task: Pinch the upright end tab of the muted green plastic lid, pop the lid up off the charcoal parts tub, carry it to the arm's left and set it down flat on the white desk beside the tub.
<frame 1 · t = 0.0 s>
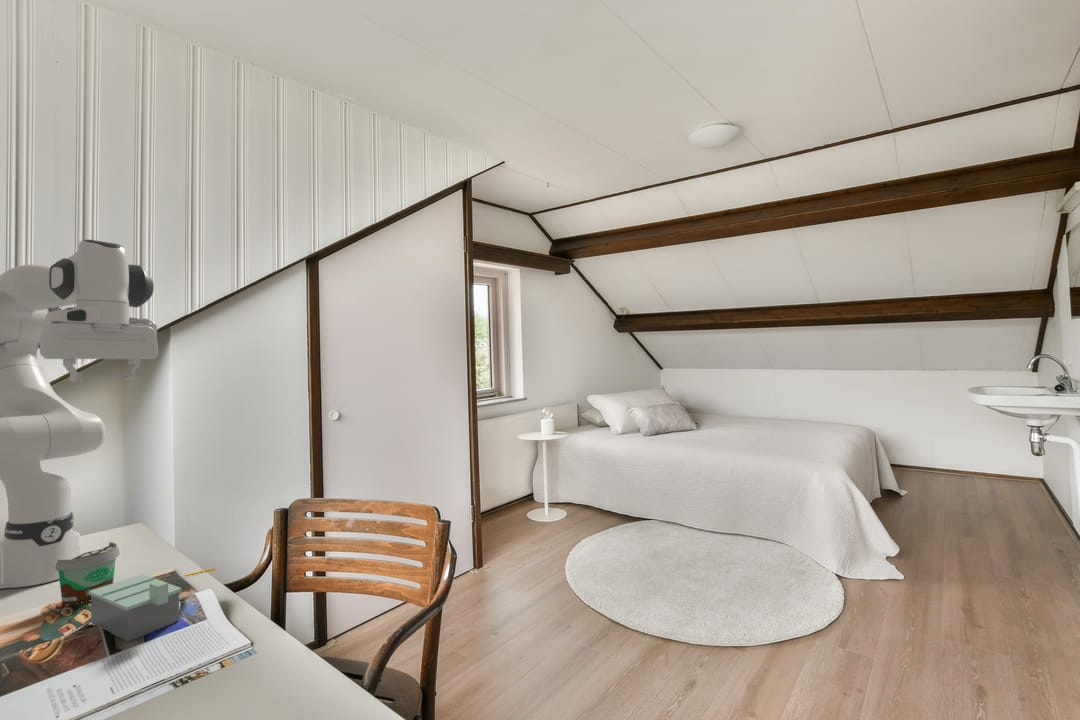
hand: (103, 380, 116), 48 cm above the table, fingers open, 8 cm apart
pencil: (171, 582, 129), on the table
lid: (135, 592, 108), point 6 cm above the table, touching tub
tub: (135, 622, 108), on the table
food container: (96, 597, 120), on the table
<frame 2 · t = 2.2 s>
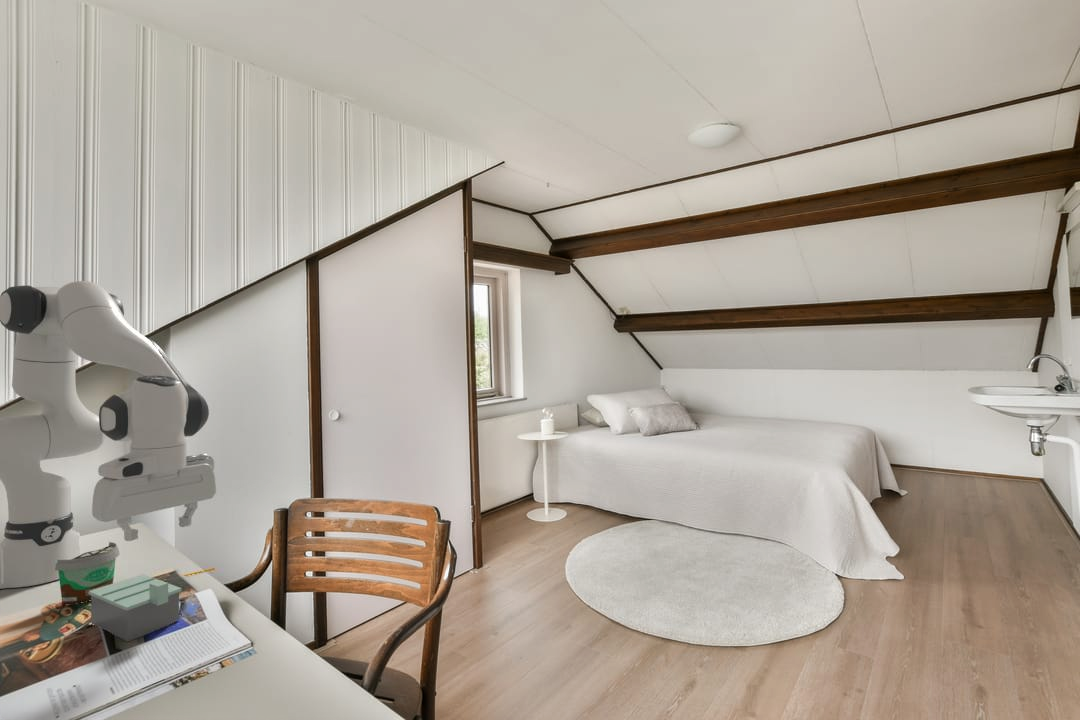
hand: (159, 532, 104), 19 cm above the table, fingers open, 8 cm apart
nothing on the table moved.
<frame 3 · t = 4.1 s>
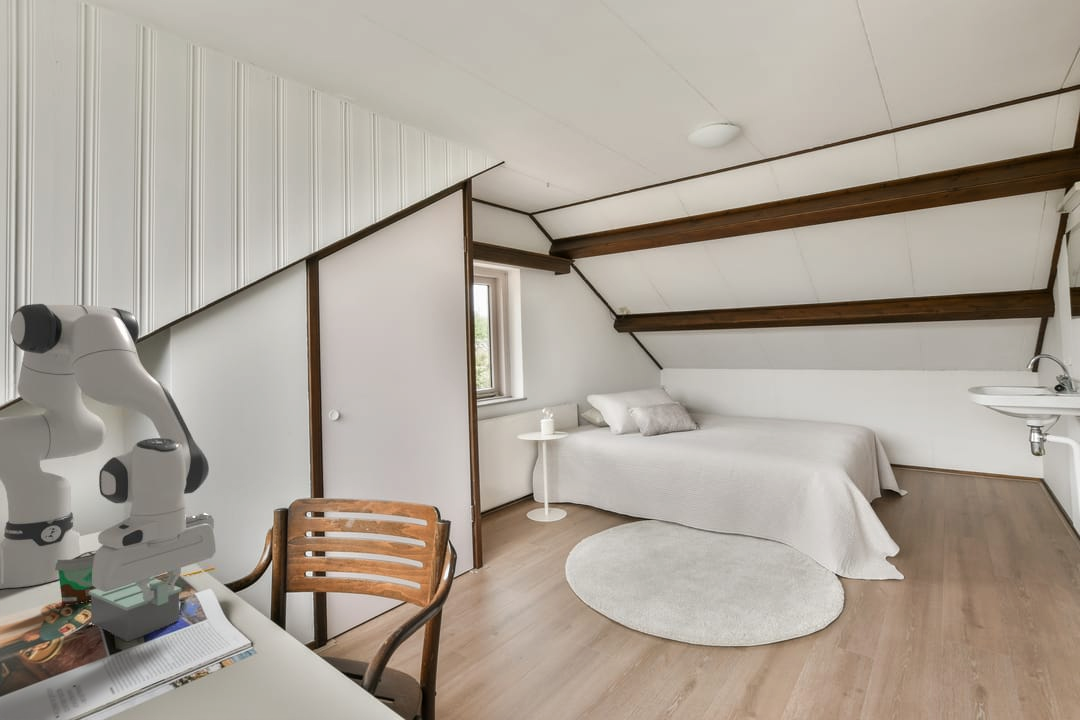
hand: (158, 596, 104), 7 cm above the table, fingers closed on lid, 2 cm apart
lid: (135, 592, 108), point 6 cm above the table, touching gripper, tub
everything else where it was.
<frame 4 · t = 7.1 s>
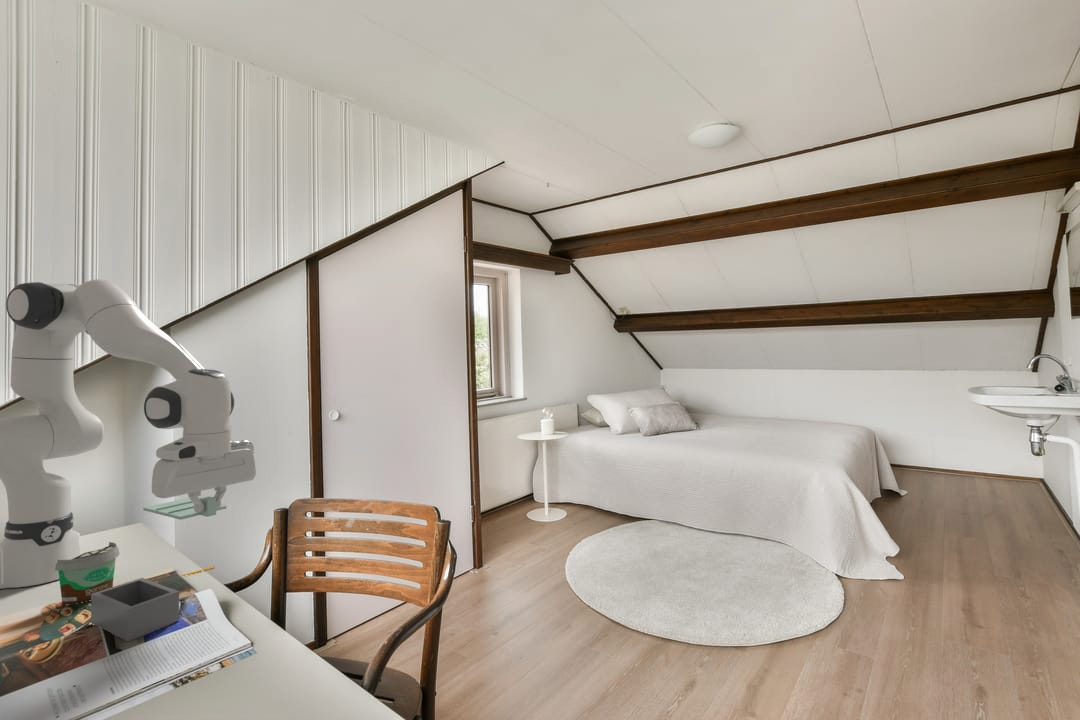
hand: (207, 509, 116), 20 cm above the table, fingers closed on lid
lid: (185, 509, 120), point 19 cm above the table, touching gripper
everything else where it was.
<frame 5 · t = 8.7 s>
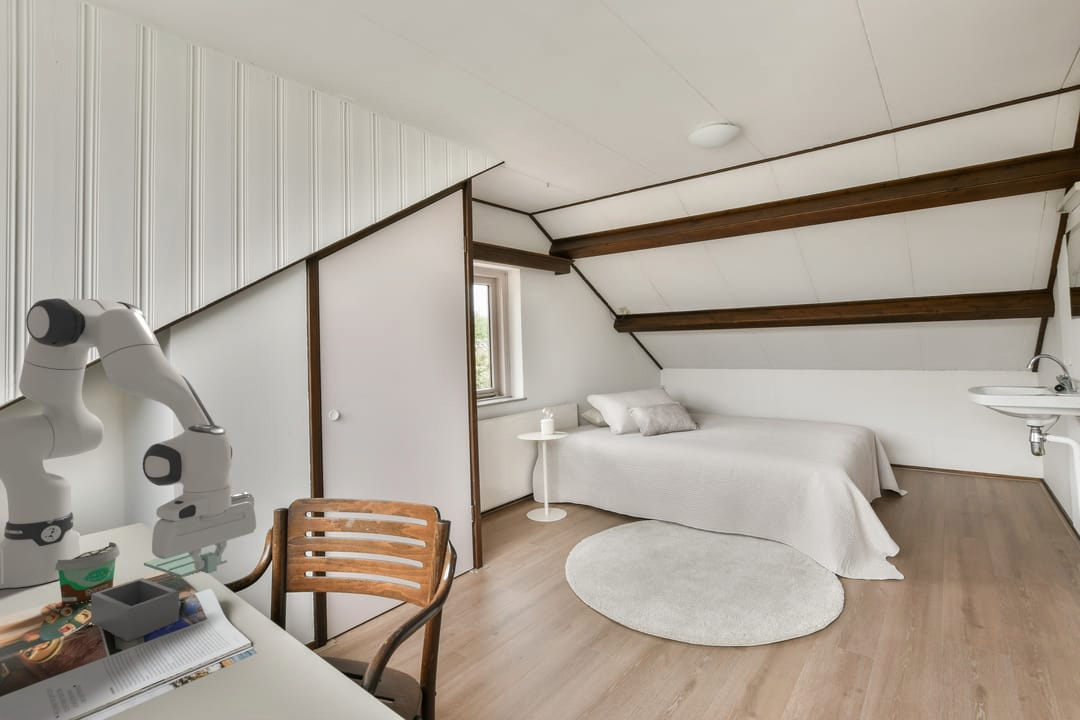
hand: (208, 565, 116), 8 cm above the table, fingers closed on lid, 2 cm apart
lid: (185, 563, 120), point 7 cm above the table, touching gripper
everything else where it was.
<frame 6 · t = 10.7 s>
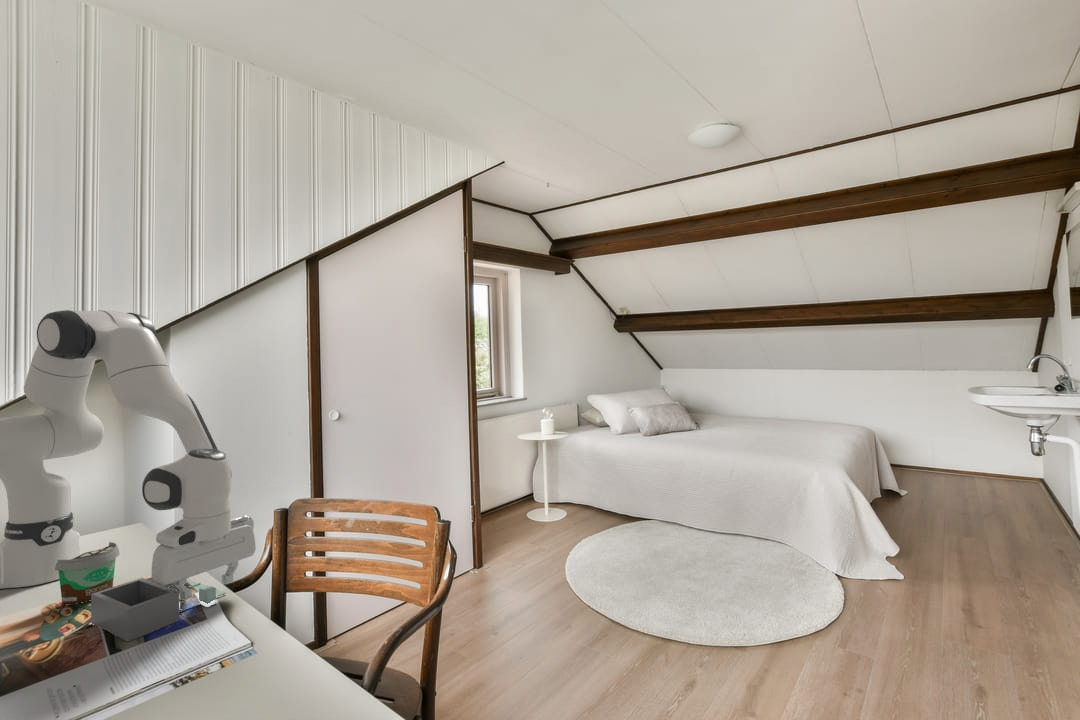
hand: (207, 590, 116), 3 cm above the table, fingers open, 7 cm apart
lid: (184, 596, 120), on the table
everything else where it was.
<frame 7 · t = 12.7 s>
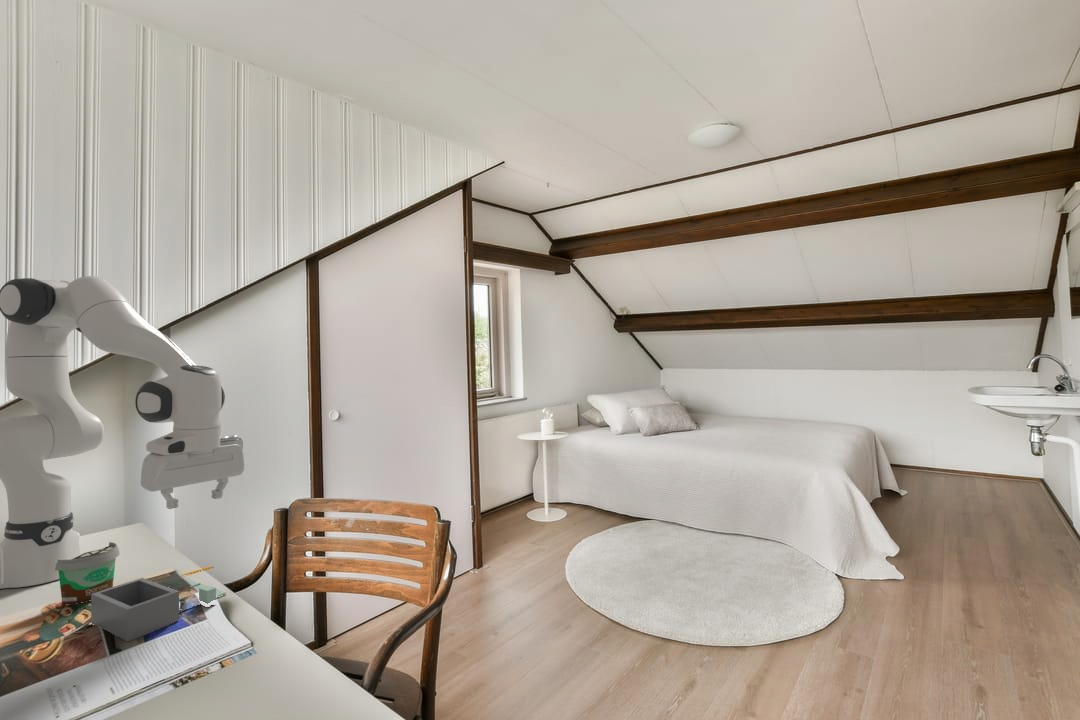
hand: (195, 502, 118), 21 cm above the table, fingers open, 8 cm apart
nothing on the table moved.
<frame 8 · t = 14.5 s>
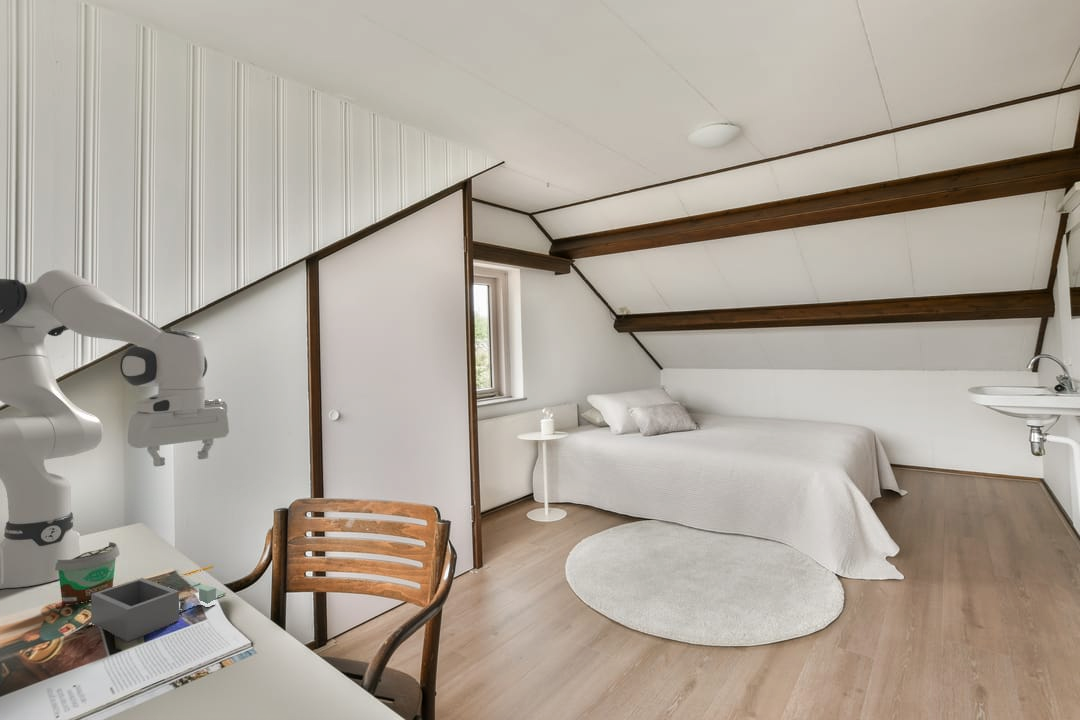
hand: (181, 462, 123), 29 cm above the table, fingers open, 8 cm apart
at the end: lid inside the target area (1.0 cm from its centre), on the table; lid touching table; the gripper is holding nothing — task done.
